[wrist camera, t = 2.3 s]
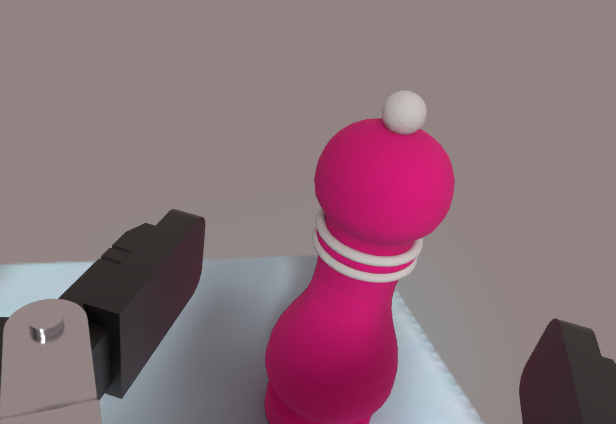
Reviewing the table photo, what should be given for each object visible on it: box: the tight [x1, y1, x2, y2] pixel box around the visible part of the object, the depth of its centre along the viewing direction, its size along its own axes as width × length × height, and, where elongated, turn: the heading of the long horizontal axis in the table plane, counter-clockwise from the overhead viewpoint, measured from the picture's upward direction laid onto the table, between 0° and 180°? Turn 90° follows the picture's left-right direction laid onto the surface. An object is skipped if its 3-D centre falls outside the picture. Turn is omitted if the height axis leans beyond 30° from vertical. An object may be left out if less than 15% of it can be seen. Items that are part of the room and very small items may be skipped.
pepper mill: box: [265, 91, 454, 424], centre depth 27 cm, size 7×7×20 cm
